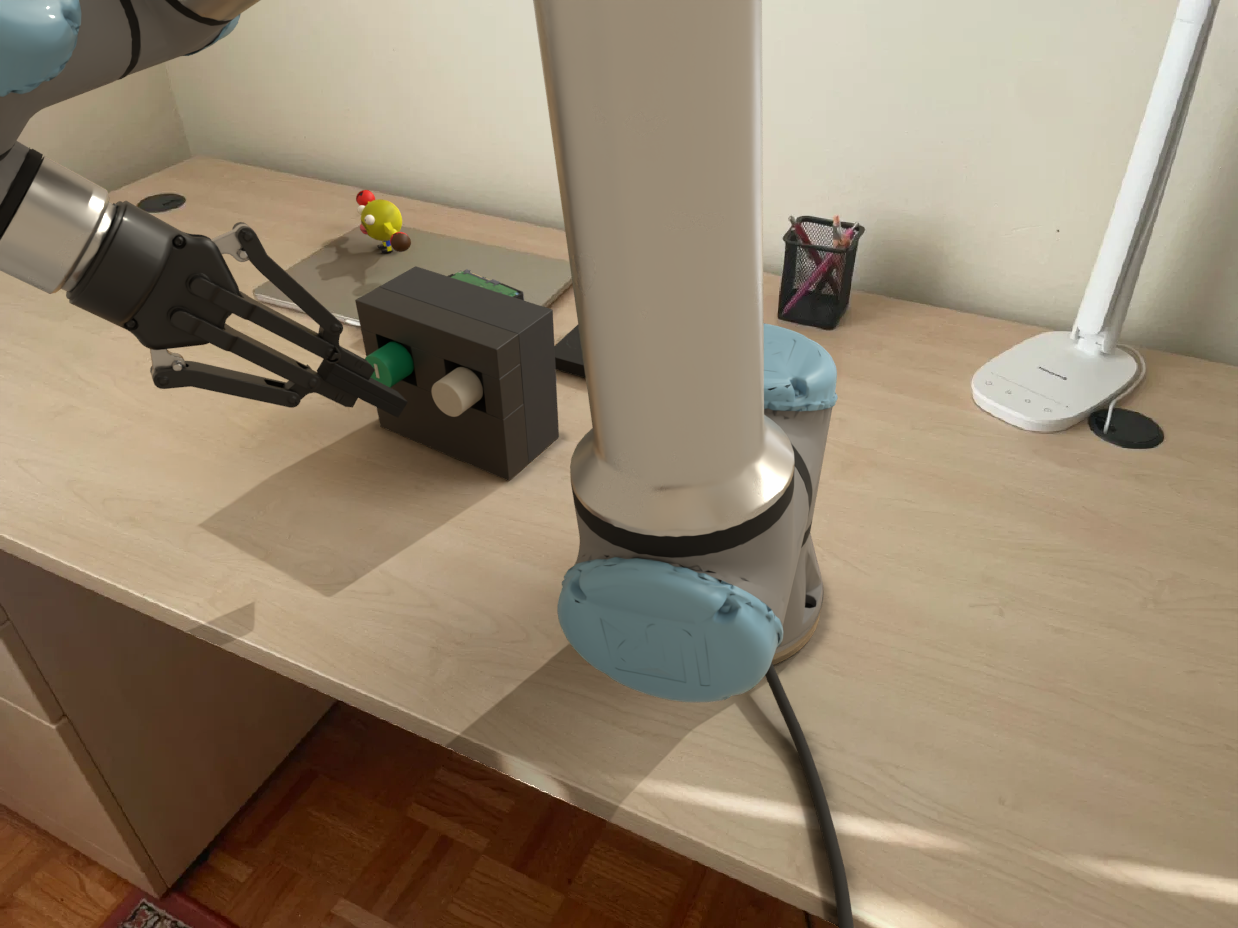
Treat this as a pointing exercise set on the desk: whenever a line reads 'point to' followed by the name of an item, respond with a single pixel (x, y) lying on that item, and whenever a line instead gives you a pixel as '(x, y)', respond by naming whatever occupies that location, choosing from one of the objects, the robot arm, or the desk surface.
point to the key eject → (457, 391)
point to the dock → (485, 344)
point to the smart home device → (570, 354)
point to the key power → (391, 363)
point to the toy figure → (382, 222)
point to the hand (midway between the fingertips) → (397, 404)
